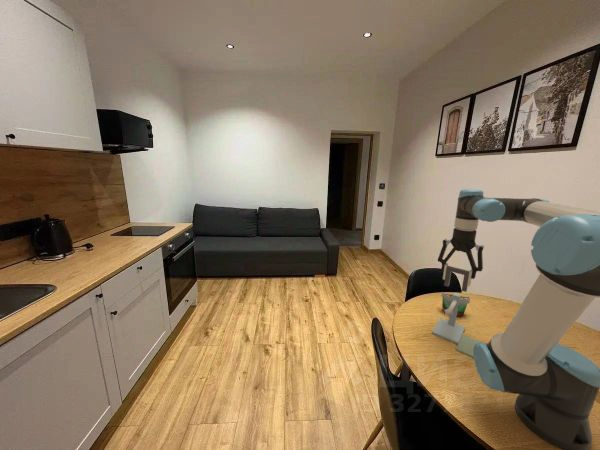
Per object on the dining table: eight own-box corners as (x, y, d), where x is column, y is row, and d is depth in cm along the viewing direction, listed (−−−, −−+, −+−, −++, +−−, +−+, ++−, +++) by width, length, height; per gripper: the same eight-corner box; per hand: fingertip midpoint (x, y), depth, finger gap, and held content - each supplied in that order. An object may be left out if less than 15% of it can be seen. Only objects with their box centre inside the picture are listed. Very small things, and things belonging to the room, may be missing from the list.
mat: (486, 363, 89) (487, 362, 89) (455, 350, 96) (455, 348, 96) (490, 346, 98) (491, 345, 98) (462, 335, 104) (462, 334, 104)
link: (466, 292, 97) (469, 272, 95) (443, 285, 103) (446, 266, 101) (466, 290, 98) (470, 271, 96) (444, 284, 104) (447, 265, 102)
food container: (441, 316, 118) (444, 297, 116) (438, 309, 124) (441, 291, 121) (470, 321, 114) (474, 302, 112) (466, 313, 120) (470, 295, 118)
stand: (457, 345, 98) (463, 311, 95) (430, 334, 105) (435, 301, 101) (464, 328, 109) (470, 297, 105) (440, 319, 115) (445, 289, 112)
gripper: (499, 231, 90) (488, 286, 95) (438, 223, 104) (431, 271, 109) (497, 235, 85) (486, 293, 90) (433, 226, 99) (426, 276, 104)
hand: (456, 281), depth 100 cm, fingers closed on link, 8 cm apart
